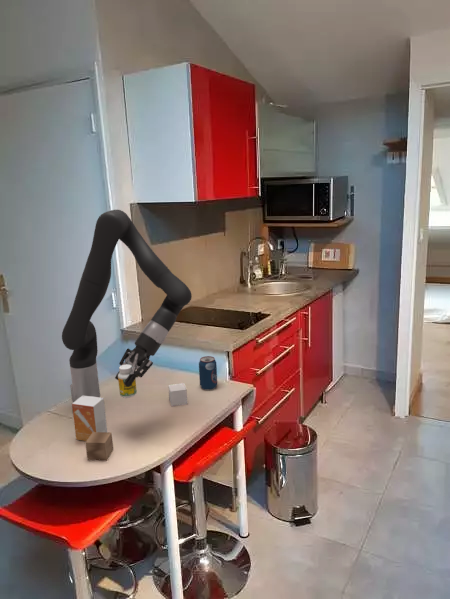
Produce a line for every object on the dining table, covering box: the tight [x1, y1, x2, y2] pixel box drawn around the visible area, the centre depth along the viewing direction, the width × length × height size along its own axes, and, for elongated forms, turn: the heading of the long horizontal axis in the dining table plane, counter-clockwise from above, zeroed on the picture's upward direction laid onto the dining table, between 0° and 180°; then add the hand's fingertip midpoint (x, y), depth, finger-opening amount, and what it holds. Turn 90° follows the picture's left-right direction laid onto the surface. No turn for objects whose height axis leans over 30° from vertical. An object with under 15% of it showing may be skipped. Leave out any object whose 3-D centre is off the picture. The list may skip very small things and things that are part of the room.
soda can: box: [198, 355, 218, 391], centre depth 189 cm, size 7×7×12 cm
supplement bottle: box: [117, 364, 138, 399], centre depth 152 cm, size 5×5×10 cm
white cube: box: [168, 382, 188, 407], centre depth 178 cm, size 6×6×6 cm
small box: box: [71, 396, 108, 442], centre depth 155 cm, size 8×6×13 cm
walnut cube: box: [84, 431, 114, 462], centre depth 146 cm, size 6×6×6 cm
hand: (121, 382), depth 151 cm, fingers closed on supplement bottle, 5 cm apart
